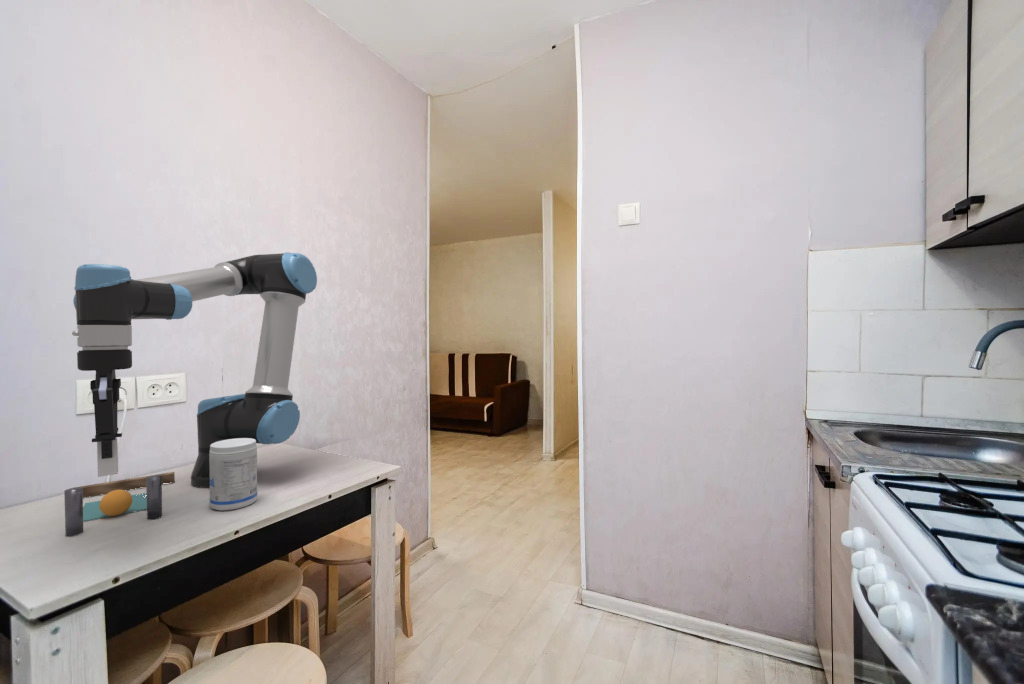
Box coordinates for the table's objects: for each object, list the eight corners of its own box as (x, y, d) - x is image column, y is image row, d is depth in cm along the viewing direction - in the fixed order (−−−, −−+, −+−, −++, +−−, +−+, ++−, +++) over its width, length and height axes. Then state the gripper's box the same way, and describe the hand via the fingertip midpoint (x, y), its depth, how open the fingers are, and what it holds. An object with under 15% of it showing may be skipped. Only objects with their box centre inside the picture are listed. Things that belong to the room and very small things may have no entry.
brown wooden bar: (174, 480, 122) (174, 471, 122) (174, 482, 121) (174, 473, 121) (73, 497, 110) (73, 487, 110) (72, 499, 108) (71, 489, 108)
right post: (162, 514, 99) (161, 474, 99) (162, 517, 97) (161, 476, 97) (147, 517, 97) (146, 476, 97) (146, 520, 95) (145, 479, 95)
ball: (132, 513, 98) (133, 509, 102) (131, 488, 98) (132, 485, 103) (98, 521, 95) (101, 516, 99) (97, 495, 95) (99, 491, 99)
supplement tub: (206, 503, 105) (205, 442, 105) (251, 493, 111) (250, 435, 111) (214, 515, 98) (213, 449, 98) (262, 504, 104) (261, 441, 104)
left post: (84, 529, 91) (83, 486, 91) (82, 534, 89) (81, 489, 89) (66, 533, 89) (65, 488, 89) (64, 537, 87) (63, 492, 87)
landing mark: (160, 491, 114) (160, 490, 114) (159, 507, 103) (159, 506, 103) (85, 504, 105) (85, 503, 105) (75, 523, 94) (75, 522, 94)
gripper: (82, 348, 85) (85, 470, 86) (70, 349, 75) (74, 488, 75) (133, 347, 90) (136, 463, 90) (129, 348, 80) (132, 478, 80)
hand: (108, 474), depth 83 cm, fingers closed
